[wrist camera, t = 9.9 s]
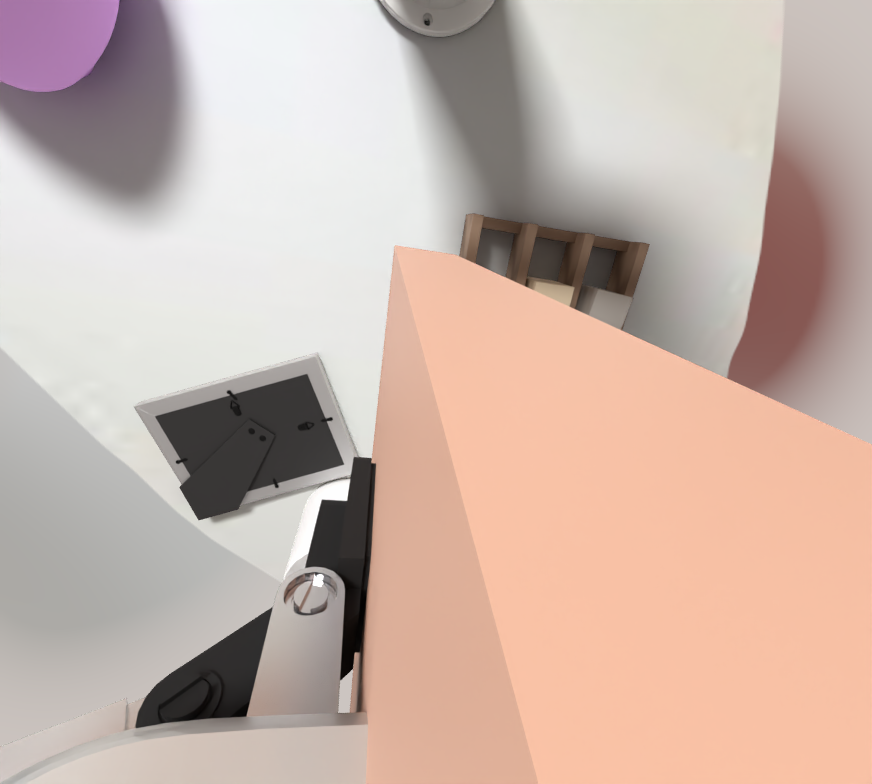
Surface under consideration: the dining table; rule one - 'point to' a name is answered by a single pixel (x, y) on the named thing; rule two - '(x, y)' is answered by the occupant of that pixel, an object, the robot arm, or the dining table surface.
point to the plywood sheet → (602, 557)
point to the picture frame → (251, 435)
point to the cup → (313, 522)
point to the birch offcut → (551, 289)
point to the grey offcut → (603, 305)
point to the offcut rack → (573, 260)
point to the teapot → (52, 41)
